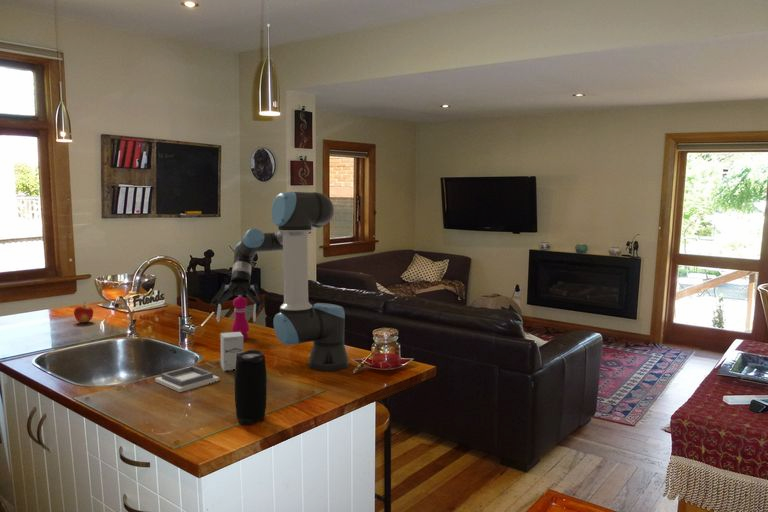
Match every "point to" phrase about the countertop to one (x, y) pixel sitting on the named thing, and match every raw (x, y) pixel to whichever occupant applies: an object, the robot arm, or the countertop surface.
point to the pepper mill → (240, 316)
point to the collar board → (186, 378)
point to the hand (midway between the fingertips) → (236, 320)
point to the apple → (83, 313)
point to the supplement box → (230, 349)
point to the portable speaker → (250, 386)
